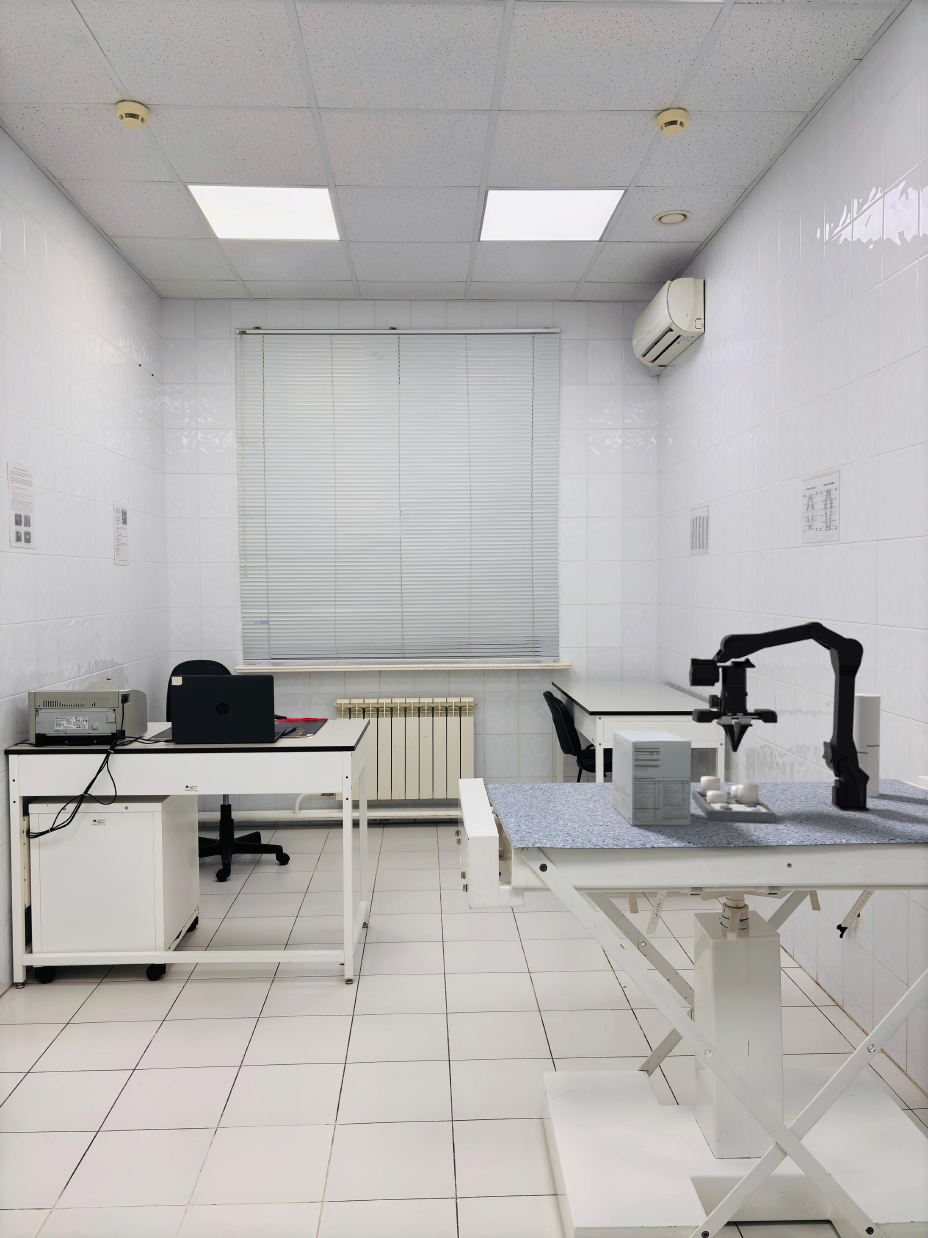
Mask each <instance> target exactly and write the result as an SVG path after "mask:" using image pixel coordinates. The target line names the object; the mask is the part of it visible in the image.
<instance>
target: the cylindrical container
mask: <svg viewBox="0 0 928 1238" xmlns="http://www.w3.org/2000/svg"><path fill="white" fill-rule="evenodd" d="M853 739H854V743H855V746H856V749H857V754H858V761H859V767H860V768H861V769H862V770H863V771H864V772H865V773H866V774H867V775H868V776H869V777H870V778H869V781H868V783H867V797H868V798H874V797H875V798H876V797H878V796H880V757H881V756H880V755H881V754H880V751H881V750H880V748H881V747H880V744H881V741H880V739H881V695H880V694H876V693H873V694H872V693H860V692H859V693H857V692H855V699H854V724H853Z"/></svg>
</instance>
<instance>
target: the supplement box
mask: <svg viewBox="0 0 928 1238" xmlns="http://www.w3.org/2000/svg"><path fill="white" fill-rule="evenodd" d="M691 768H692V741H691V740H688V739H685V738H683V737H681V736H678V734H677V735H676V734H675V733H672V732H669V731H667V730H645V729H644V730H643V729H640V730H635V729H634V730H632V729H631V730H630V729H628V730H627V729H626V730H623V729H622V730H621V729H613V730H612V779H611V780H612V781H611V782H612V783H611V785H612V790H611V791H612V792H611V793H612V794H611V799H612V800H611V802H612V803H611V806H612V807H613V808H614V809H615V810H616V811H617V812H618V813H619V814H620V815H621V817H623V818H624V819H625V820H626V821H627V823H629V824H630V825H631V826H690V825H691V798H692V790H691V785H692V784H691V782H692V780H691V779H692V774H691V773H692V772H691V770H692V769H691Z"/></svg>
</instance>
